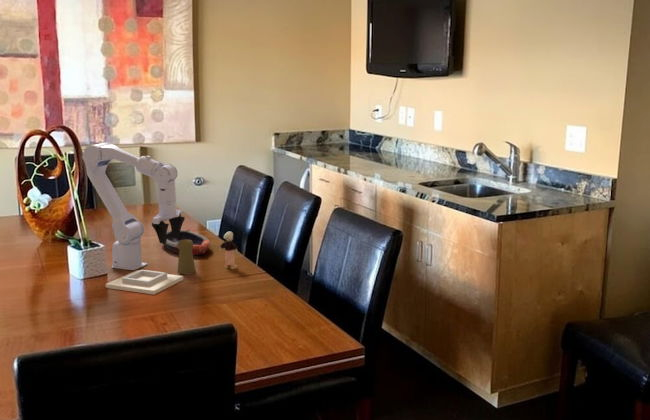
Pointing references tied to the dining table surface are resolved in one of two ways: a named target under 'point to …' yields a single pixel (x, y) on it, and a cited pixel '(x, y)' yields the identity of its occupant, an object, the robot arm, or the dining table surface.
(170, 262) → the dining table surface
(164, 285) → the holder board
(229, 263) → the grandmother figurine
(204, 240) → the dish
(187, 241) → the cork
